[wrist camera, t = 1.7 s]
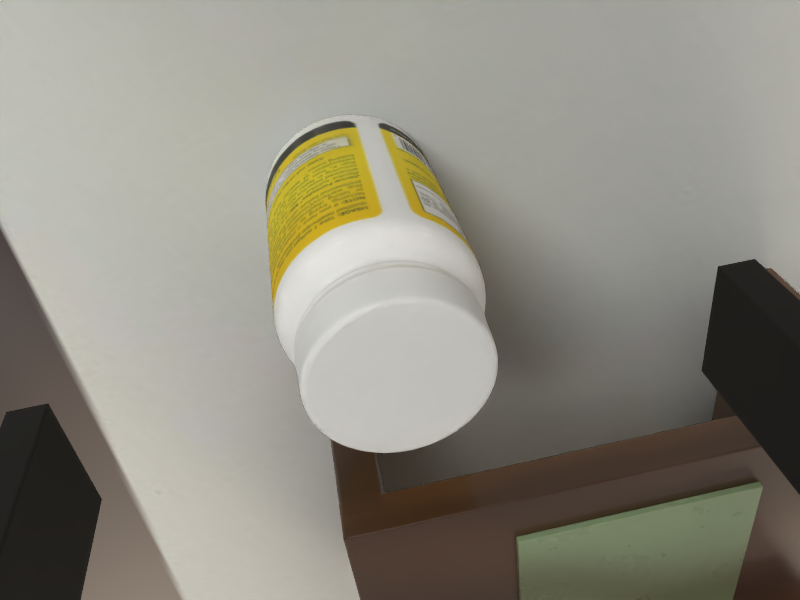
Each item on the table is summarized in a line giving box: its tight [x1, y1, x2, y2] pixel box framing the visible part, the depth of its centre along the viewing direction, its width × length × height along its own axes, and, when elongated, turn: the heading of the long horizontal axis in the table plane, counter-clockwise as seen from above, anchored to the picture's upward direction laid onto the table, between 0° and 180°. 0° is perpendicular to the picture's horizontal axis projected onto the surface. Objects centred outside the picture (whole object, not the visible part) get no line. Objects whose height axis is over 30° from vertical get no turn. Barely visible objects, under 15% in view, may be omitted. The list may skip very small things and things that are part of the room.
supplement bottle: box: [266, 115, 498, 453], centre depth 18 cm, size 5×5×8 cm
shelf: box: [331, 268, 800, 600], centre depth 24 cm, size 12×16×10 cm
